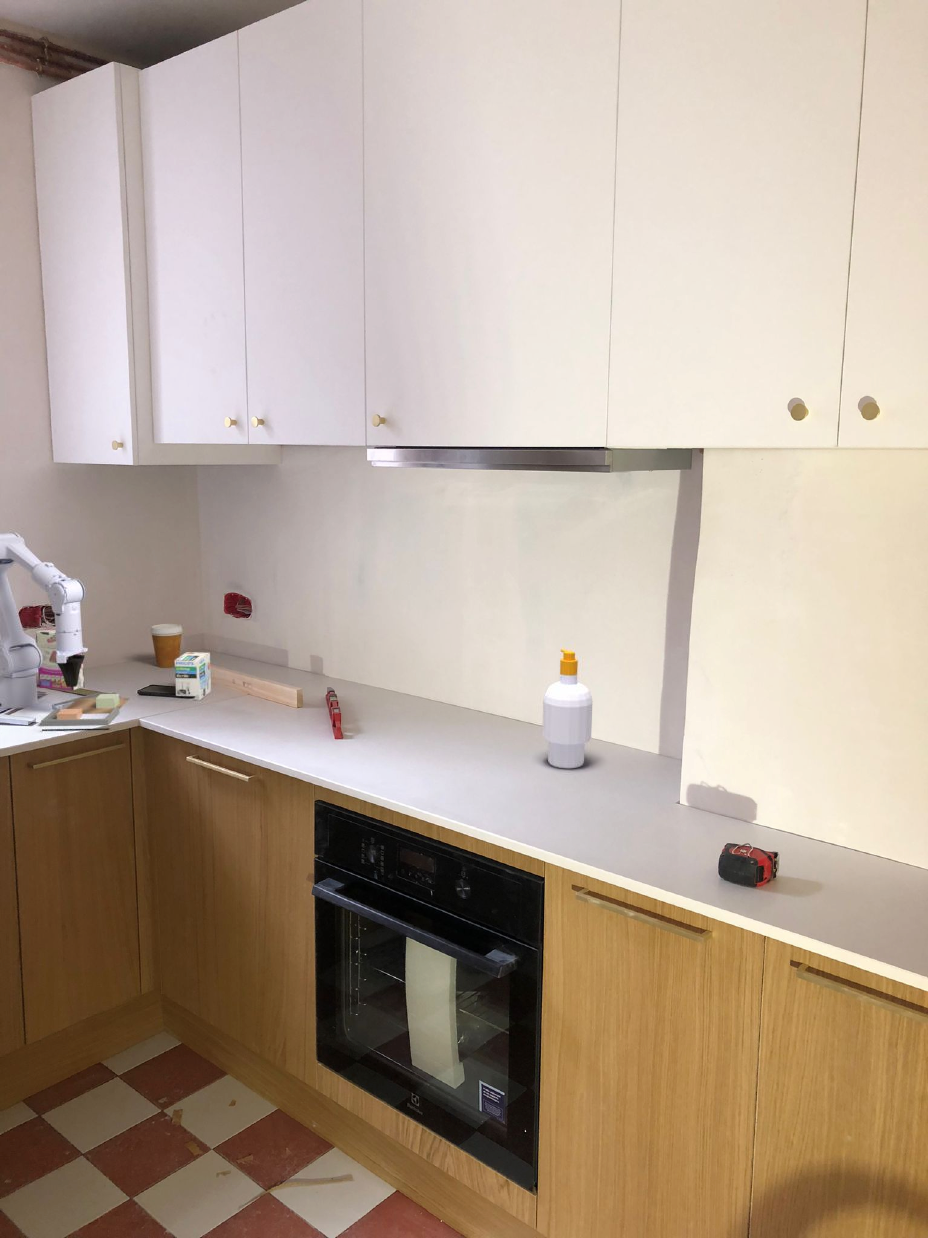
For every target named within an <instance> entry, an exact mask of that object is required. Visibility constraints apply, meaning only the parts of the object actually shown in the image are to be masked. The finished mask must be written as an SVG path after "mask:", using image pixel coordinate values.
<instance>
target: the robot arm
mask: <svg viewBox="0 0 928 1238" xmlns="http://www.w3.org/2000/svg"><path fill="white" fill-rule="evenodd" d="M15 564H18V565H19V566H21V567H22V568H24V570H26V571H28V572H29V573H31V574H30V575H31V576H30V577H31V580H32V582H34V584H36V585H37V586H38V587H40V588H41V589H42V590H44V591H45V592H46V593H47V599H48V600H49V602H50V603H51V611H52V612H53V613H54V622H55V626H54V627H55V630H56V643H57V649H56V654H57V655H56V663H57V664H58V666H59V667H60V669H61V671H62V674H63V677H64V680H65V683H66V686H67V687H76V686H77V684H78V678H79V672H80V668H81V665H82V662H83V663H84V660H85V655H84V654H83V655H77V654H78V653H81V652H82V653H87V652H88V651H89V650H88V649H89V648H88V647H84V643H83V633H82V632H83V631H82V630H83V629H82V616H81V615H82V614H81V602H83V601H84V599H85V597H86V588H85V586H84V584H83V582H82V581H80V579H79V578H71V577H67V575H66V574H65V573H63V572H61V571H60V570H59V569H58V568H57V567H56V566H55V564H53V562H46V561H44V562H43V561H41V560H40V559H39V558H38V557H37V556H36V555H35V554H34V553H33V552H32V551H31V550H30V549H29V548H28V547H27V546H26V543H25V538H23V537H22V536H21V535H20V534H19V533H17V532H14V531H13V532H12V531H11V532H7V533H0V709H26V708H32V707H35V706H37V705H38V704H39V703H38V700H39V699H38V689H37V688H38V687H37V673H38V669H39V668H40V667H41V665H42V662H43V657H42V653H41V651H40V650H39V648H38V647H37V643H36V638H33V637H32V636H30V635H28V634H26V633H25V631H24V628H23V624H22V623H21V619H20V616H19V612H18V607H17V605H16V601H15V598H14V596H13V592H12V589H11V586H10V582H9V579H8V576H7V573H8V571H9V569H10V568H12V567H13V566H14V565H15ZM38 674H39V673H38Z"/></svg>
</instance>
